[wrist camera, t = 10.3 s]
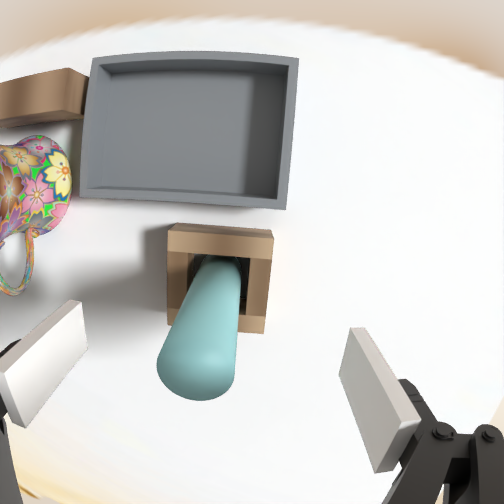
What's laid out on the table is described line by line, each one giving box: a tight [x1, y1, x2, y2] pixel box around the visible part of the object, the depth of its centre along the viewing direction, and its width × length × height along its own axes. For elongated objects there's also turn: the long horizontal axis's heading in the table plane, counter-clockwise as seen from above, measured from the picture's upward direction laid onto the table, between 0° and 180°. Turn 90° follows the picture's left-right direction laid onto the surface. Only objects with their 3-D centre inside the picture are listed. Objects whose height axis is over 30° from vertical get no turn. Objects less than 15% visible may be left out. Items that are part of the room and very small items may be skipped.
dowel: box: [157, 254, 242, 401], centre depth 19 cm, size 3×3×13 cm
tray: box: [79, 51, 299, 210], centre depth 20 cm, size 14×10×4 cm
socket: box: [167, 223, 274, 334], centre depth 23 cm, size 7×7×3 cm
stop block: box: [0, 68, 89, 128], centre depth 19 cm, size 10×3×5 cm, turn 85°
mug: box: [0, 135, 72, 296], centre depth 18 cm, size 12×9×11 cm
